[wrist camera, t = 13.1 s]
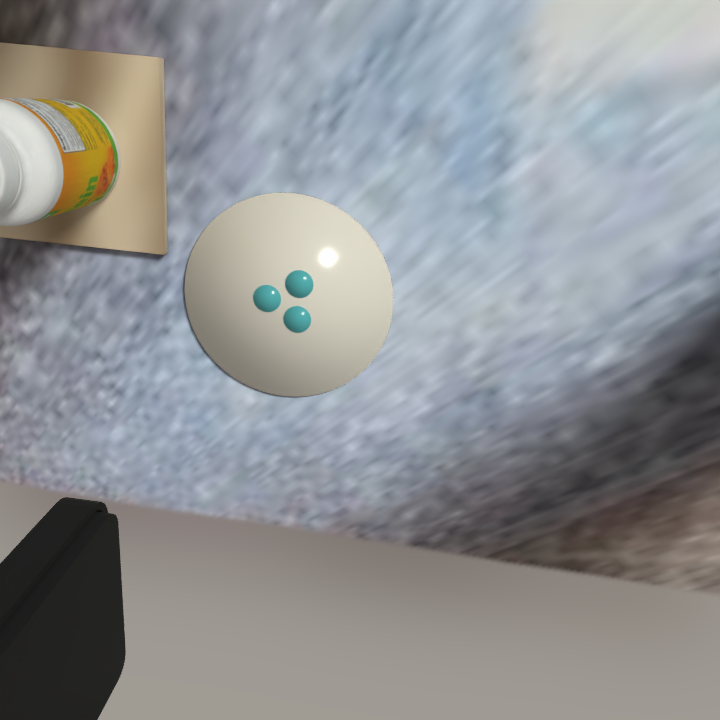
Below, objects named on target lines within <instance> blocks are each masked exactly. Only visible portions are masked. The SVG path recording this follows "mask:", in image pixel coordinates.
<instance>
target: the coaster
mask: <svg viewBox="0 0 720 720" xmlns="http://www.w3.org/2000/svg"><path fill="white" fill-rule="evenodd" d="M184 290H185V303H186V308H187V312H188V316H189V319H190V322H191V325H192V328H193V330H194V332H195V334H196V336H197V338H198V340H199V342H200V343H201V345H202V346H203V348H204V349H205V351H206V352H207V353H208V354H209V356H210V357H211V358H212V359H213V360H214V362H215V363H217V364H218V365H219V366H220V367H221V368H222V369H223V370H224V371H225V372H227V373H228V374H229V375H231V376H232V377H233V378H235V379H237V380H238V381H240V382H242V383H244V384H245V385H247V386H250V387H252V388H254V389H257V390H259V391H263V392H266V393H269V394H274V395H280V396H291V397H300V396H311V395H316V394H322V393H325V392H328V391H331V390H334V389H336V388H338V387H340V386H342V385H344V384H346V383H348V382H349V381H351V380H352V379H354V378H355V377H357V376H358V375H359V374H360V373H361V372H362V371H364V370H365V369H366V368H367V367H368V365H369V364H370V363H371V362H372V361H373V360H374V358H375V357H376V355H377V354H378V352H379V351H380V350H381V348H382V346H383V344H384V341H385V339H386V337H387V334H388V331H389V328H390V325H391V320H392V314H393V299H394V297H393V286H392V281H391V277H390V272H389V269H388V266H387V264H386V261H385V258H384V256H383V254H382V253H381V251H380V249H379V247H378V245H377V244H376V242H375V241H374V240H373V238H372V237H371V235H370V234H369V233H368V232H367V231H366V230H365V229H364V227H363V226H362V225H361V224H360V223H359V222H358V221H356V220H355V219H354V218H353V217H351V216H350V215H349V214H348V213H346V212H345V211H343V210H341V209H340V208H338V207H337V206H335V205H333V204H331V203H328V202H326V201H324V200H322V199H318V198H315V197H312V196H309V195H303V194H298V193H283V192H278V193H269V194H263V195H258V196H254V197H251V198H248V199H246V200H243V201H241V202H238V203H237V204H235V205H233V206H231V207H230V208H228V209H226V210H225V211H224V212H222V213H221V214H220V215H219V216H217V217H216V218H215V219H214V220H213V221H212V222H211V223H210V224H209V225H208V226H207V227H206V228H205V230H204V231H203V233H202V234H201V235H200V237H199V238H198V240H197V242H196V244H195V246H194V248H193V250H192V252H191V255H190V258H189V261H188V264H187V269H186V275H185V288H184Z"/></svg>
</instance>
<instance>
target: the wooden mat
mask: <svg viewBox="0 0 720 720" xmlns="http://www.w3.org/2000/svg"><path fill="white" fill-rule="evenodd" d="M0 98H27V99H61V100H69V101H74V102H77V103H80V104H82V105H85V106H86V107H88V108H90V109H92V110H93V111H94V112H96V113H97V114H98V115H99V116H101V117H102V118H103V119H104V121H105V122H106V123H107V124H108V126H109V127H110V129H111V130H112V132H113V134H114V136H115V138H116V140H117V143H118V146H119V150H120V156H121V167H120V173H119V177H118V180H117V182H116V184H115V186H114V187H113V189H112V190H111V192H110V193H109V194H108V195H107V196H106V197H105V198H103V199H102V200H100V201H98V202H96V203H94V204H92V205H89V206H86V207H82V208H79V209H75V210H72V211H68V212H65V213H61V214H58V215H55V216H51V217H48V218H45V219H41V220H38V221H35V222H32V223H28V224H24V225H19V226H2V225H0V237H4V238H13V239H22V240H32V241H41V242H50V243H60V244H69V245H78V246H87V247H97V248H106V249H115V250H124V251H134V252H143V253H152V254H162V255H164V254H166V253H168V237H167V190H166V142H165V95H164V58H159V57H148V56H138V55H127V54H117V53H106V52H96V51H85V50H75V49H64V48H54V47H43V46H33V45H22V44H12V43H1V42H0Z"/></svg>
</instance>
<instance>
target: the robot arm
mask: <svg viewBox="0 0 720 720" xmlns="http://www.w3.org/2000/svg"><path fill="white" fill-rule="evenodd" d="M120 565H121V564H120V547H119V529H118V519H117V517H116V515H114V514H110V513H108V511H107V508H106V505H105V504H104V503H102V502H97V501H90V500H82V499H75V498H68V497H66V498H62V499H61V500H59V501H58V502H57V503H56V504H55V505H54V506H53V507H52V508H51V509H50V510H49V512H48V513H47V514H46V515H45V516H44V517H43V518H42V519H41V520H40V521H39V522H38V524H37V525H36V526H35V527H34V528H33V529H32V530H31V531H30V532H29V533H28V534H27V535H26V537H25V538H24V539H23V540H22V541H21V542H20V543H19V544H18V545H17V546H16V547H15V548H14V549H13V551H12V552H11V553H10V554H9V555H8V556H7V557H6V558H5V559H4V561H2V562H1V564H0V720H97V719H98V717H99V715H100V714H101V712H102V710H103V708H104V706H105V704H106V702H107V700H108V699H109V697H110V695H111V693H112V691H113V689H114V687H115V685H116V683H117V682H118V680H119V677H120V675H121V672H122V669H123V666H124V661H125V634H124V616H123V599H122V582H121V566H120Z"/></svg>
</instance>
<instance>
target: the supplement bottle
mask: <svg viewBox="0 0 720 720" xmlns="http://www.w3.org/2000/svg"><path fill="white" fill-rule="evenodd" d="M120 167H121V156H120V150H119V146H118V143H117V140H116V138H115V136H114V134H113V132H112V130H111V129H110V127H109V126H108V124H107V123H106V122H105V121H104V119H103V118H102V117H101V116H99V115H98V114H97V113H96V112H94V111H93V110H92V109H90V108H88V107H86V106H85V105H82V104H80V103H77V102H74V101H69V100H61V99H27V98H0V225H2V226H19V225H24V224H28V223H32V222H35V221H38V220H41V219H45V218H48V217H51V216H55V215H58V214H61V213H65V212H68V211H72V210H75V209H79V208H82V207H86V206H89V205H92V204H94V203H96V202H98V201H100V200H102V199H103V198H105V197H106V196H107V195H108V194H109V193H110V192H111V190H112V189H113V187H114V186H115V184H116V182H117V180H118V177H119V173H120Z"/></svg>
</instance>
